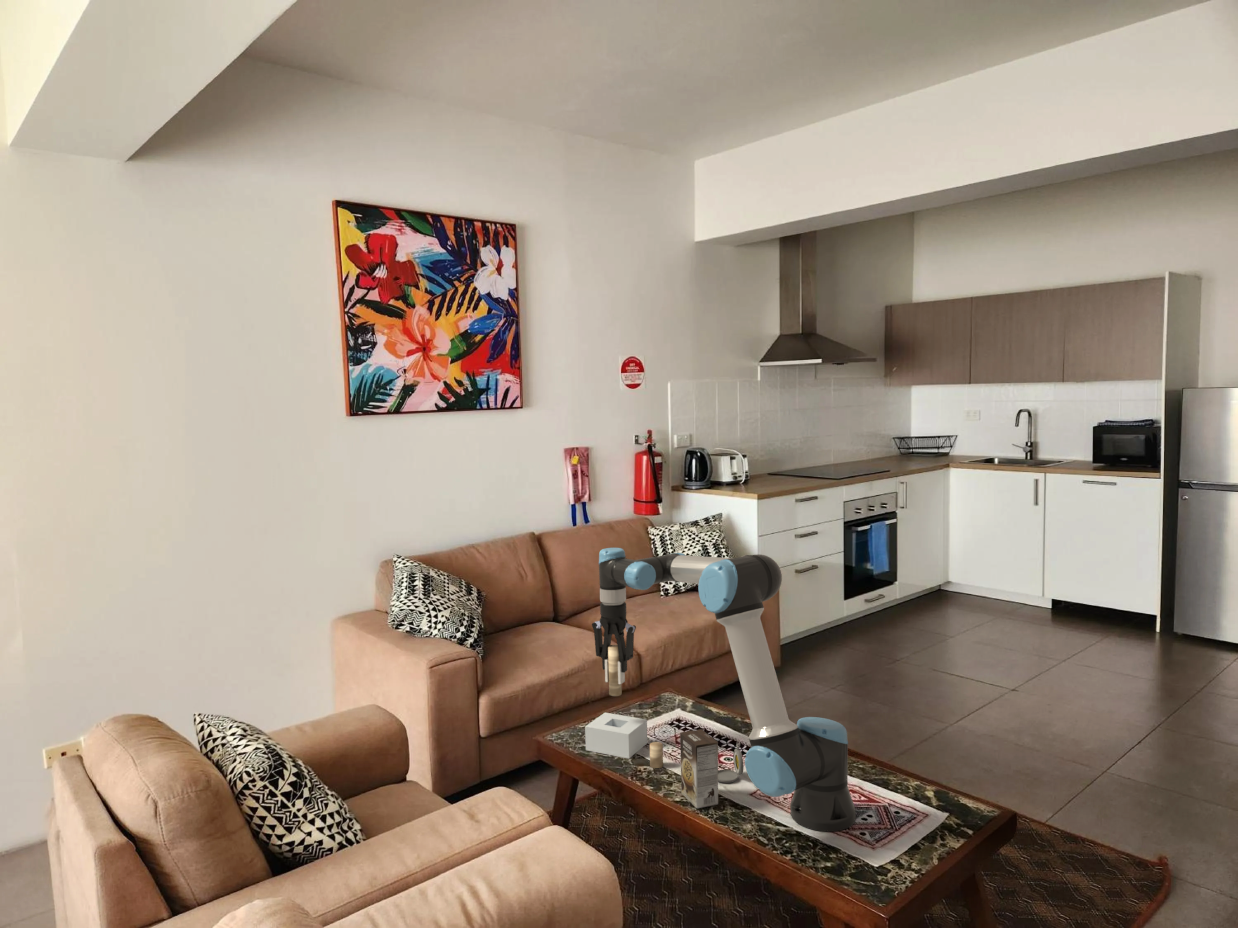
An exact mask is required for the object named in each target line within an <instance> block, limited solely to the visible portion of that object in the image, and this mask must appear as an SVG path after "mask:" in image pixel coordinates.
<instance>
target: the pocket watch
mask: <svg viewBox="0 0 1238 928" xmlns="http://www.w3.org/2000/svg"><path fill="white" fill-rule="evenodd" d="M738 742H739V744H738ZM735 746H736V748H735V749H734V751H733V756H732V757H733V758H732V760H733V766H734V770H735V771H734V770H732V769H718V783H727V784H728V783H733V782H736V781H737V780H738V779H739V777H740V776H742V775H743V773H744V770H745V769H744V766H745V764H744V758H743V755H742V754H743V753H742V751H741V749H740V747H741V741H740V740H739V739H738V740H736V745H735Z"/></svg>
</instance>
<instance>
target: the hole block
mask: <svg viewBox="0 0 1238 928" xmlns="http://www.w3.org/2000/svg"><path fill="white" fill-rule="evenodd" d="M584 735H585V739H584V740H585V751H589V752H594V753H599V754H603V755H610V756H614V757H618V758H624V759H630V758H632V757H633V756H634V755H635V754H636V753H637V752H639V751H640V750H641V749H642V748H643V747H644V746H646V745H647V744H648V719H647V718H646V719H645V718H641V717H640V718H639V717H633V716H629V715H621V714H616V713H610V712H603V714H600V716H598V717H597V718H595V719H593V720H592V721H591V722H589V723H588V724H586V726H584Z"/></svg>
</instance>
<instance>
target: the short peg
mask: <svg viewBox="0 0 1238 928" xmlns="http://www.w3.org/2000/svg"><path fill="white" fill-rule="evenodd" d="M649 766H650V768H652V769H655V768H659V769H662V768H663V767H664V744H663V743H662V742H660V741H652V742H650V743H649Z"/></svg>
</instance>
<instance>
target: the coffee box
mask: <svg viewBox="0 0 1238 928" xmlns="http://www.w3.org/2000/svg"><path fill="white" fill-rule="evenodd" d="M679 741H680V744H679V745H680V778H681V779H680V783H681V784H680V785H681V786H680V787H681V789H680V790H681V791H680V793H681V795H682V796H684V797H685V798H686V800H688V801H689V803H691V805H692V806H694V808H695V809H702V808H706V807H710V806H716V805H719V781H718V770H719V745H718V744H719V742H718V741H717V739H715V738H713V737H712V735H709V734H708V732H706V731H704V730H703V729H702V728H699V729H693V730H687V731H682V732H679Z"/></svg>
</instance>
